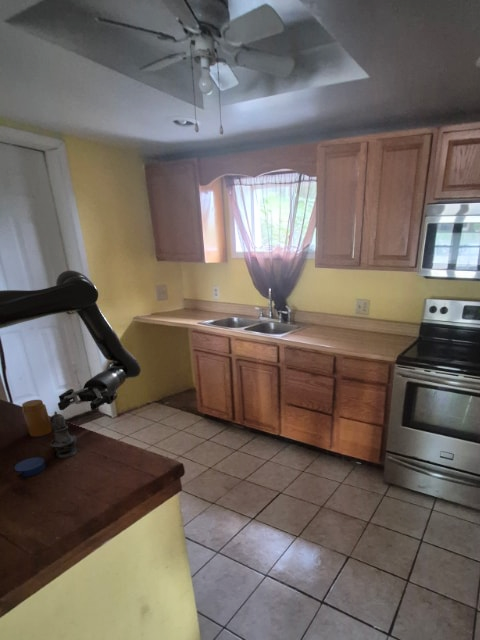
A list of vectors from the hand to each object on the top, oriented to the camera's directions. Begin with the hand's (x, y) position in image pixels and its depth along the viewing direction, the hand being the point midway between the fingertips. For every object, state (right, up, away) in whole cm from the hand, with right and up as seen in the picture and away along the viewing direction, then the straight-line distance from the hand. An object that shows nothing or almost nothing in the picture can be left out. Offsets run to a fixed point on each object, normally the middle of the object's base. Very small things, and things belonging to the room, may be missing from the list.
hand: (76, 407), depth 101 cm
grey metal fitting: (0, -12, -4) cm, 13 cm away
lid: (-4, -14, -12) cm, 19 cm away
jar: (-12, -8, +3) cm, 15 cm away
